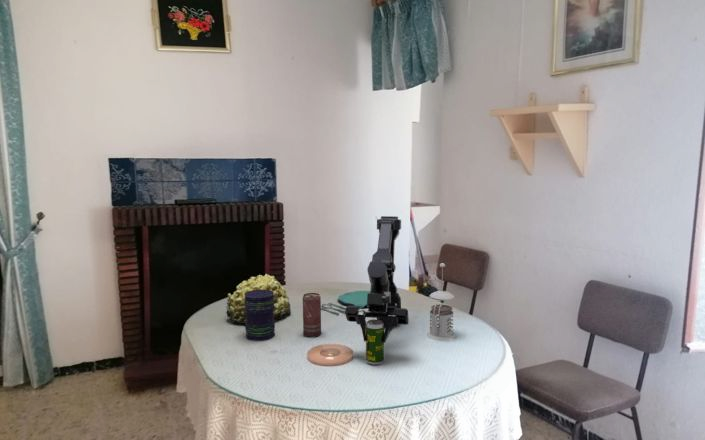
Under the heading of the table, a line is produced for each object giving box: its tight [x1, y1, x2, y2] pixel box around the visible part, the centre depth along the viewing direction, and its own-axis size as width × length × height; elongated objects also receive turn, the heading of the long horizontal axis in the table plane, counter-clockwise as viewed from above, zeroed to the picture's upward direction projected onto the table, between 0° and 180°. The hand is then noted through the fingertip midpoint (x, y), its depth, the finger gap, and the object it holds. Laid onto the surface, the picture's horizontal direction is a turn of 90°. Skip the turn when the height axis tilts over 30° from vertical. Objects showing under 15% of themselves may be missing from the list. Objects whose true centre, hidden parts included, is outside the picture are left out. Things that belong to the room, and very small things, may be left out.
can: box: [302, 292, 322, 338], centre depth 169 cm, size 6×6×14 cm
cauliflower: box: [225, 273, 292, 324], centre depth 189 cm, size 25×24×16 cm
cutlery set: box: [321, 290, 370, 316], centre depth 205 cm, size 20×30×2 cm, turn 130°
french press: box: [426, 262, 457, 341], centre depth 166 cm, size 10×12×25 cm
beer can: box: [365, 318, 385, 366], centre depth 146 cm, size 5×5×12 cm
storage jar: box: [244, 289, 276, 342], centre depth 168 cm, size 10×10×15 cm
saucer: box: [306, 343, 354, 367], centre depth 151 cm, size 14×14×1 cm
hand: (374, 341), depth 145 cm, fingers closed on beer can, 5 cm apart
